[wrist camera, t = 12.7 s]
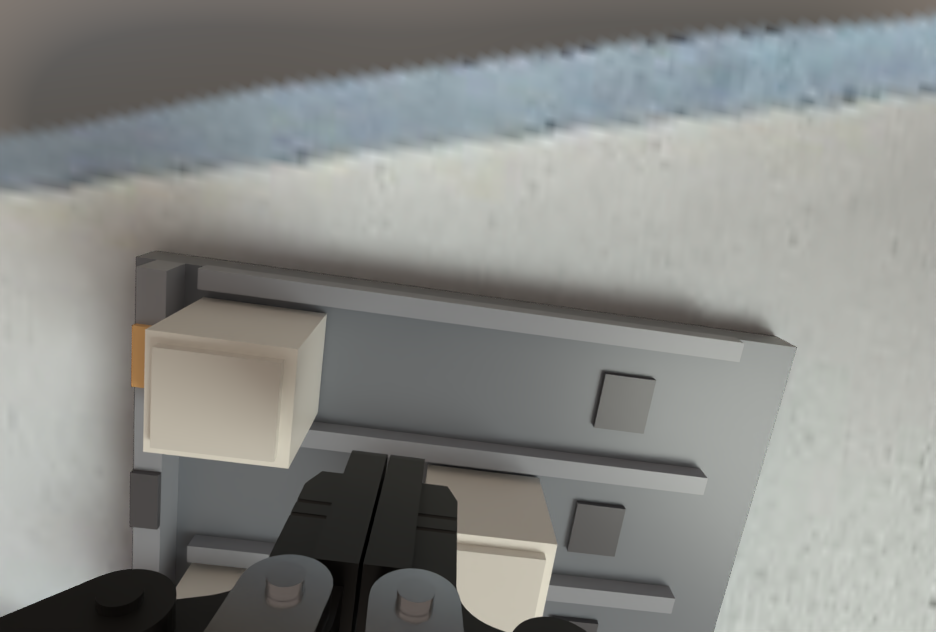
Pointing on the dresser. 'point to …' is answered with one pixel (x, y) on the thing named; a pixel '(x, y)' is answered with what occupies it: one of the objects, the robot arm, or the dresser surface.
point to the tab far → (207, 580)
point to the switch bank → (492, 431)
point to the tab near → (232, 382)
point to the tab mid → (500, 544)
